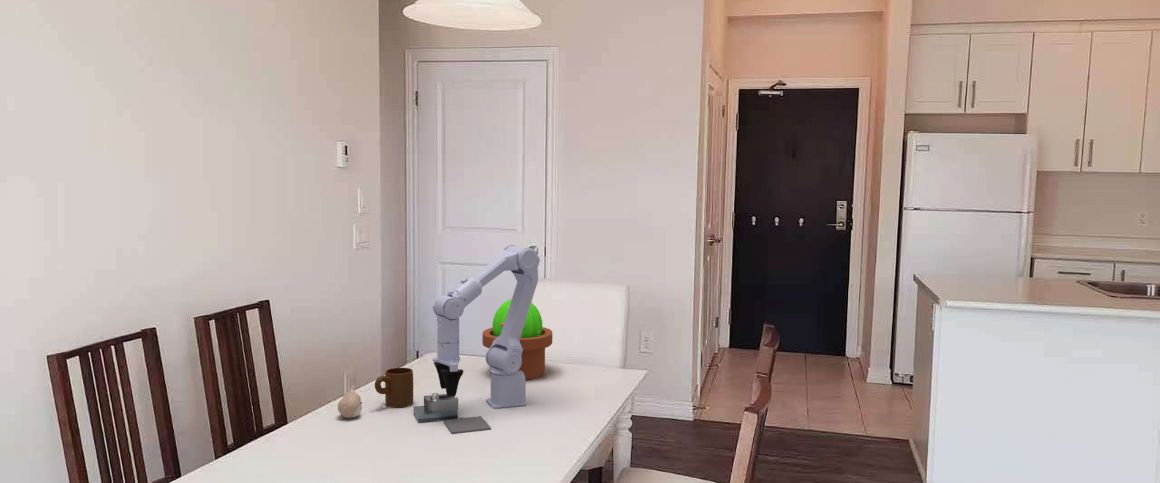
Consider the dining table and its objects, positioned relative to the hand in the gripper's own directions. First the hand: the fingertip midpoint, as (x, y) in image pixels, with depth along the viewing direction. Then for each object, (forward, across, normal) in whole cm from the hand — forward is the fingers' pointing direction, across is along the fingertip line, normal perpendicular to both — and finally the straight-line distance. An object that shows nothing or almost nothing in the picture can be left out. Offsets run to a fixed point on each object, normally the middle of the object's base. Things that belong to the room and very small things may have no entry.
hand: (448, 392), depth 209 cm
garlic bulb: (+7, -7, -24) cm, 26 cm away
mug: (+6, -13, -12) cm, 19 cm away
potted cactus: (+6, -34, +30) cm, 46 cm away
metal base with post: (+6, 0, -3) cm, 7 cm away
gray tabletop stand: (+4, 0, -2) cm, 5 cm away
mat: (+6, +10, +3) cm, 12 cm away
